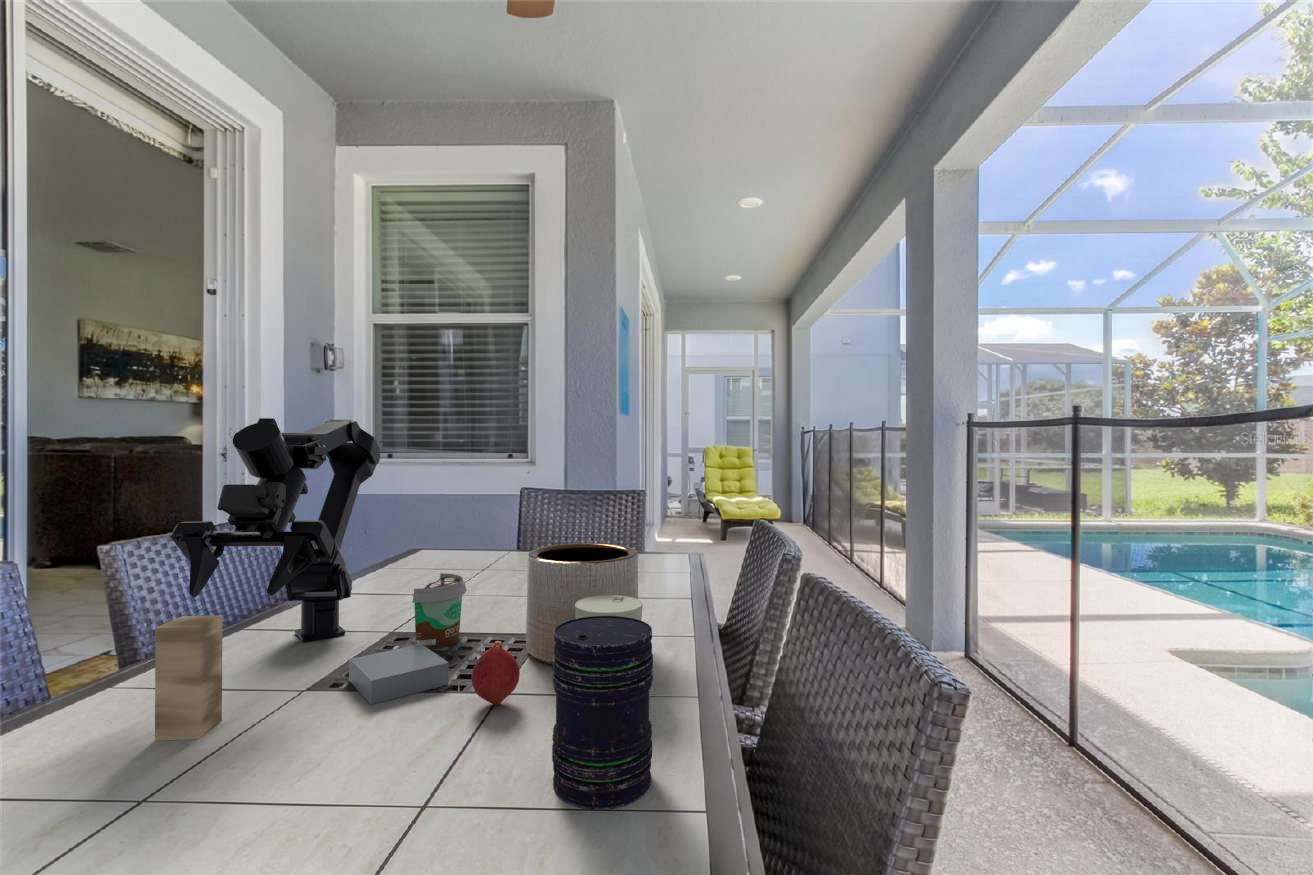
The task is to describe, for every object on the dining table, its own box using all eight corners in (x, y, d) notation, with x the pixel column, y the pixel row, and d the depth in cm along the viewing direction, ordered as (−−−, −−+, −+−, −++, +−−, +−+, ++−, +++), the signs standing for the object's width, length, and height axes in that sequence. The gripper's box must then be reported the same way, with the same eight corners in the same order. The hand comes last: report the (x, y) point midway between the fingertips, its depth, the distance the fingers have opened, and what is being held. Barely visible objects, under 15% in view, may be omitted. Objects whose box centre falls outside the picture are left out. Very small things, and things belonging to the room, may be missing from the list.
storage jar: (602, 746, 69) (603, 610, 69) (672, 777, 63) (673, 627, 63) (530, 784, 61) (531, 631, 61) (602, 824, 55) (603, 653, 55)
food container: (451, 654, 98) (451, 590, 98) (412, 653, 98) (412, 589, 98) (475, 629, 110) (476, 572, 110) (441, 629, 110) (441, 572, 110)
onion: (476, 718, 75) (477, 651, 75) (467, 700, 81) (467, 638, 81) (524, 709, 78) (524, 644, 78) (512, 692, 83) (512, 631, 83)
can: (651, 680, 88) (652, 594, 88) (627, 707, 79) (628, 612, 79) (591, 672, 91) (592, 589, 91) (561, 697, 82) (562, 605, 82)
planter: (621, 628, 111) (622, 540, 111) (653, 663, 94) (653, 559, 94) (520, 638, 106) (520, 545, 106) (533, 676, 89) (534, 566, 89)
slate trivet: (348, 680, 87) (349, 659, 87) (421, 664, 93) (421, 643, 93) (371, 704, 79) (371, 680, 79) (448, 684, 86) (448, 662, 86)
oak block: (181, 722, 74) (181, 616, 74) (221, 720, 74) (222, 615, 74) (154, 740, 69) (155, 627, 69) (198, 738, 70) (199, 626, 70)
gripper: (179, 461, 84) (118, 560, 73) (326, 462, 86) (287, 557, 75) (214, 513, 92) (163, 609, 81) (347, 512, 94) (315, 605, 83)
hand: (231, 594), depth 80 cm, fingers open, 9 cm apart
